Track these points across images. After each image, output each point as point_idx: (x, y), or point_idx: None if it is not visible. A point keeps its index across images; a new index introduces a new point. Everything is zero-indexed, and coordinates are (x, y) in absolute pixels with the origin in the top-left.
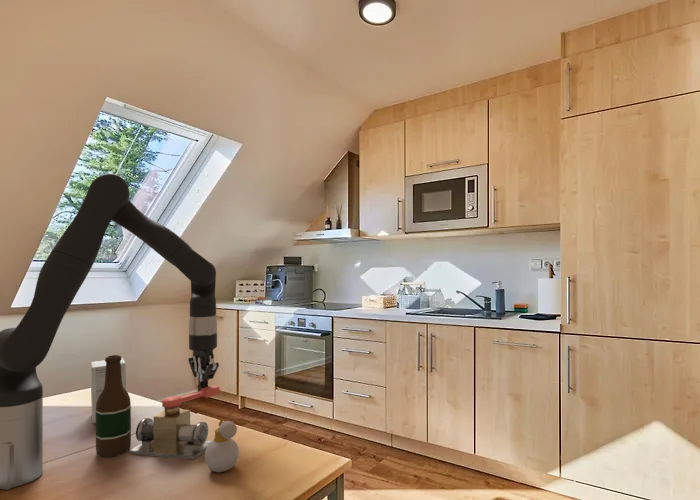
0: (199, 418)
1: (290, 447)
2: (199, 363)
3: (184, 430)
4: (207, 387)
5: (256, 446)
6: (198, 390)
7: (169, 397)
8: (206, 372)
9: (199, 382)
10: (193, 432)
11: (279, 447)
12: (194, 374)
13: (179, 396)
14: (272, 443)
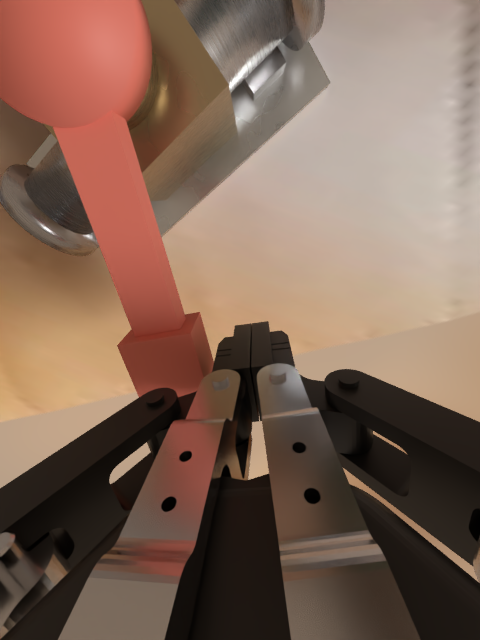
0: (392, 314)
1: (4, 402)
2: (156, 550)
3: (57, 142)
4: (184, 374)
5: (49, 349)
6: (266, 328)
7: (108, 6)
8: (75, 460)
9: (252, 361)
10: (8, 169)
11: (16, 385)
12: (342, 384)
13: (91, 118)
14: (49, 385)
